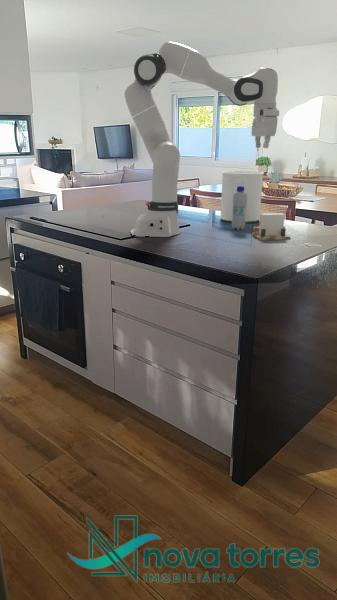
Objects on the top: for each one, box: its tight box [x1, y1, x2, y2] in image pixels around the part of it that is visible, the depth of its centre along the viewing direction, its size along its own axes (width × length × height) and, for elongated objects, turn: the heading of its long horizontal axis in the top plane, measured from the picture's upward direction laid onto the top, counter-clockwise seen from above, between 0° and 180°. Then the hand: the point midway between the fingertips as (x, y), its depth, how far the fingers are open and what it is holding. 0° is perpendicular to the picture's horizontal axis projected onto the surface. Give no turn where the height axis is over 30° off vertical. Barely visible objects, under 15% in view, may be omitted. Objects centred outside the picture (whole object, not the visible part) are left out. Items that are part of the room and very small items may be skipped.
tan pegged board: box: [251, 226, 291, 241], centre depth 195 cm, size 14×10×4 cm
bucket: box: [220, 170, 265, 224], centre depth 231 cm, size 26×22×24 cm
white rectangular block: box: [258, 212, 285, 236], centre depth 194 cm, size 10×2×9 cm, turn 98°
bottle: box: [231, 186, 247, 231], centre depth 208 cm, size 7×7×20 cm
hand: (261, 147), depth 188 cm, fingers open, 8 cm apart
